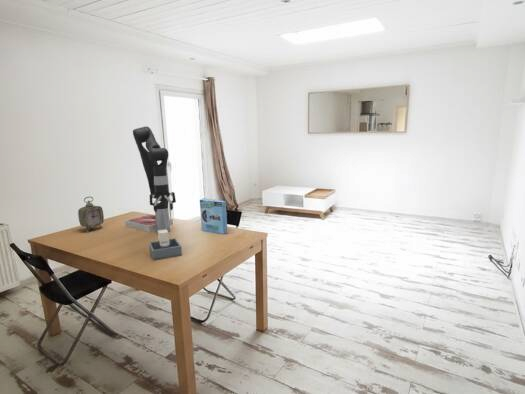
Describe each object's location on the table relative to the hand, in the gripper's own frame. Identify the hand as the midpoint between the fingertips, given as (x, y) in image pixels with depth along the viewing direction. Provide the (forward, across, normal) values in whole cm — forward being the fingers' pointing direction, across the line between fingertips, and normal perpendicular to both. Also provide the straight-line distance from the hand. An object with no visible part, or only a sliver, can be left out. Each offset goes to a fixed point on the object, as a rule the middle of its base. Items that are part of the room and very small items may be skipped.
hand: (163, 210), depth 186 cm
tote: (+25, -2, -4) cm, 25 cm away
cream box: (+17, -2, -4) cm, 17 cm away
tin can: (+24, -2, -4) cm, 24 cm away
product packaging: (+26, -2, +61) cm, 67 cm away
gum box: (+25, +36, +22) cm, 50 cm away
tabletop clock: (+25, -41, +71) cm, 86 cm away
